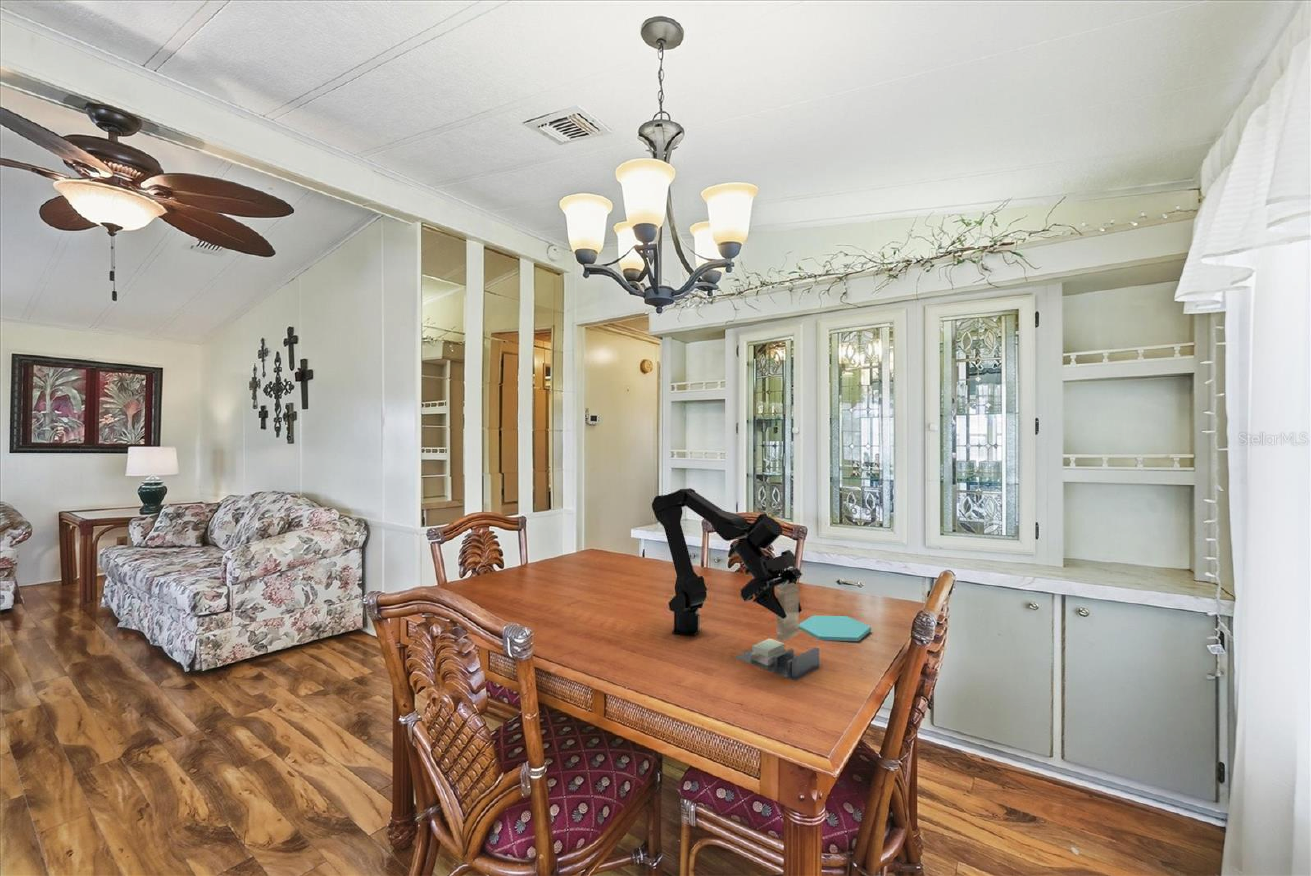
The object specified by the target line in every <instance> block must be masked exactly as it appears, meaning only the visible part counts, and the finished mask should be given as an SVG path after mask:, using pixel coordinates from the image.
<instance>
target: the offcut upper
mask: <svg viewBox="0 0 1311 876" xmlns="http://www.w3.org/2000/svg"><path fill="white" fill-rule="evenodd" d="M785 647H786V644H785V643H784V642H783V641H779V640H776V639H772V638H770V637H769V638H767V639H765V640H763V641H760V642H758V643H756V644H753V645H752V649H753V652H755V653H757V654H760V655H763V656H766V657H770V656H772V655H774V654H776V653H778V652H780V651H783V650H786V649H785Z"/></svg>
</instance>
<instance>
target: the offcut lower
mask: <svg viewBox="0 0 1311 876" xmlns="http://www.w3.org/2000/svg"><path fill="white" fill-rule="evenodd" d="M786 650H787V649H785V650H783V651H780V652H778V653H776V654H774V655H772V656H770V657H766V656H763V655H760V654H757V653H755V652H752V653H751V660H754V661H757V662H759V663H762V664H765V665H767V666H769V665H771V664H773V663H774V656H776V655H778V654H780V653H782V652H784V651H786Z"/></svg>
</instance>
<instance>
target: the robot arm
mask: <svg viewBox="0 0 1311 876" xmlns="http://www.w3.org/2000/svg"><path fill="white" fill-rule="evenodd" d="M684 507H687V508H688V509H690V510H691V511H693V512H694V513H695V514H697V515H698V516H700V517H701V518H703V519H704V520H705V521H707V522H708V523H709V524H710V525H712V527H713V530H714V532H715V533H716V534H717V535H718V536H719V537H720V538H721V539H722V540H724V541H727V542H731V541H733V540H734V541H736V540H738V541H737V542H736V543H731V544H730V545H729V546H730V549H729V553H728V555H729V556H734V555H738V557H739V559H740V560H741V561H742V563H743V565H744V566H745V567H746V569H745V570H744V572H745V573H746V575H749V574H750V575H751V577H752V579H750V580H749V581H748V582H747V583H746V584H745V585H744V586H743V587H742V588H741V589H740V597H741V598H742V600H743V601H744V603H746V602H749V601H752V603H754V604H755V603H756V604H758V605H760V606H762V607H763V608H765V609H767V610H768V611H770V612H771V613H772V614H773V613H774V614H775V615H776V616H777V615H778V616H780V617H781V618H783V619H785V618H786V617H787V615H786V613H785V611H784V609H783V608H782V606H781V604H780V603H779V601H778V599H777V595H776V594H775V593H776V592H775V587H776V588H778V587H781V586H784V585H787V584H790V583H794V584H797V582H798V581H799V579H800V578H801V577H802V576H803V573H802V572H801V571H800V569H799V568H798V567H795V566H796V564H795V563H796V561H797V556H796V555H795V554H794V553H793V552H792V551H791V550H790V549H788V550H784V551H781V553H780V556H776V557H773V555H771V554H768V555H767V554H766V553H765V552H764V550H763V549H768V548H769V547H770V546H771V545H772V544H773V543H774V542H775V541H776V540H777V539H778V538H779V537H780V536H781V535H782V534H783V532H784V530H783V527H782V526H781V524H780V522H778V521H776V520H775V519H774V518H772V517H771V516H769V515H767V513H765V512H764V513H759V515H758V516H757V517H756V519H755V520H754V521H753V522H749V521H748V520H747V518H746V517H743V516H741V515H740V514H737V513H735V512H730V511H726V510H725V509H724V510H723V509H722V508H721V507H719V506H717V505H715V504H714V503H712V501H710V500H709V499H707V498H705V497H704V496H702V495H700V494H699V493H697V492H696V490H695V489H693V488H680V489H678V490H676V491H674V492H671V493H668V494H661V495H656V496H655V497H654V498H653V501H652V503H651V508H652V512H653V514H654V516H655V519H656V520H657V521H658V522H659V524H660V525H662V527H663V529H664V533H665V536H666V540H667V543H668V547H669V551H670V555H671V558H672V563H673V566H674V570H675V575H676V578H675V579H676V580H675V584H674V592H675V595H674V596H673V597H672V598H671V599H670V601H669V602H668V607H669V611H670V612H672V613H673V630H672V632H671V633H672V634H674V635H683V636H684V635H685V636H691V637H692V636H693V637H694V636H696V635H697V633H698V632H699V631H700V629H701V627H700V625H701V623H700V622H701V615H700V614H699V609H703V605H704V603H705V601H706V599H707V597H708V596H707V595H708V594H707V591H708V588H707V587H706V586H707V585H706V583H705V579H704V577H703V575H700V576H698V574H697V573H696V571H694V567H693V562H692V559H691V556H690V553H689V549H688V545H687V541H686V539H685V535H684V532H683V528H682V524H681V523H682V516H683V514H684V513H683V508H684ZM790 567H791V568H790ZM801 612H802V606H801V602H799V612H798V613H801Z"/></svg>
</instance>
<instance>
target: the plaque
mask: <svg viewBox="0 0 1311 876" xmlns="http://www.w3.org/2000/svg"><path fill="white" fill-rule="evenodd" d="M798 629H800V630H801V631H803V632H804V633H807V634H809V635H810V636H812V637H813V638H815V639H817V640H819V641H834V642H835V641H836V642H839V641H840V642H859V641H861V640H862V638H864V637H865V636H866V635H868V634H869V633H870V632H871V631H872V626H871V625H868V624H866V623H863V622H861V621H859V620H857V619H855V618H852V617H850V616H848V615H842V616H841V615H812V616H810V617H808V618H807V619H805V620H804V621H802V622H800V623H798Z"/></svg>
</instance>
